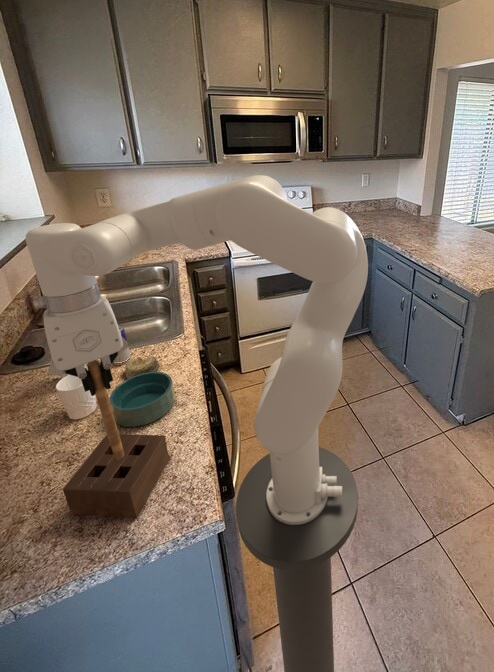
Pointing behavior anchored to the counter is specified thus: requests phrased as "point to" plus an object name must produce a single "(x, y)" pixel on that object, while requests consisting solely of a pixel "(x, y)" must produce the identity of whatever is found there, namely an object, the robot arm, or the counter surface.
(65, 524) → the counter surface
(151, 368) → the tan textured clump
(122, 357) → the energy drink
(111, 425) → the stick
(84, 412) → the white cup
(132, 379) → the bowl
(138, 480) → the holder
